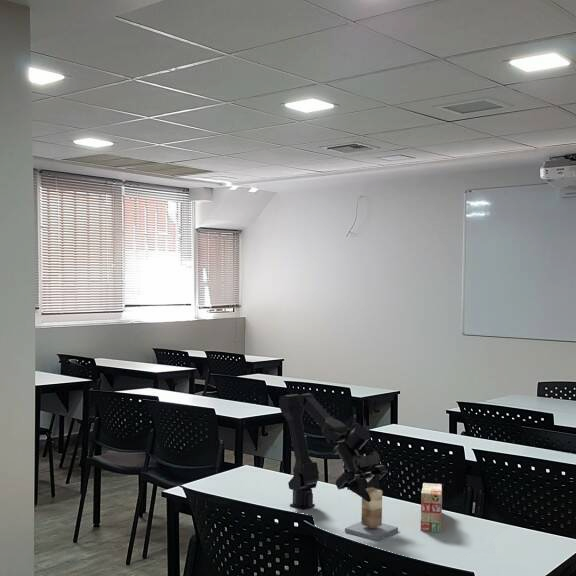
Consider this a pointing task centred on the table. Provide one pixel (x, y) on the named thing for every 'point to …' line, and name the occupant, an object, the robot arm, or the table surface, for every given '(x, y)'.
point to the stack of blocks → (431, 507)
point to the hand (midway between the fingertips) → (375, 500)
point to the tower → (372, 508)
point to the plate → (371, 531)
